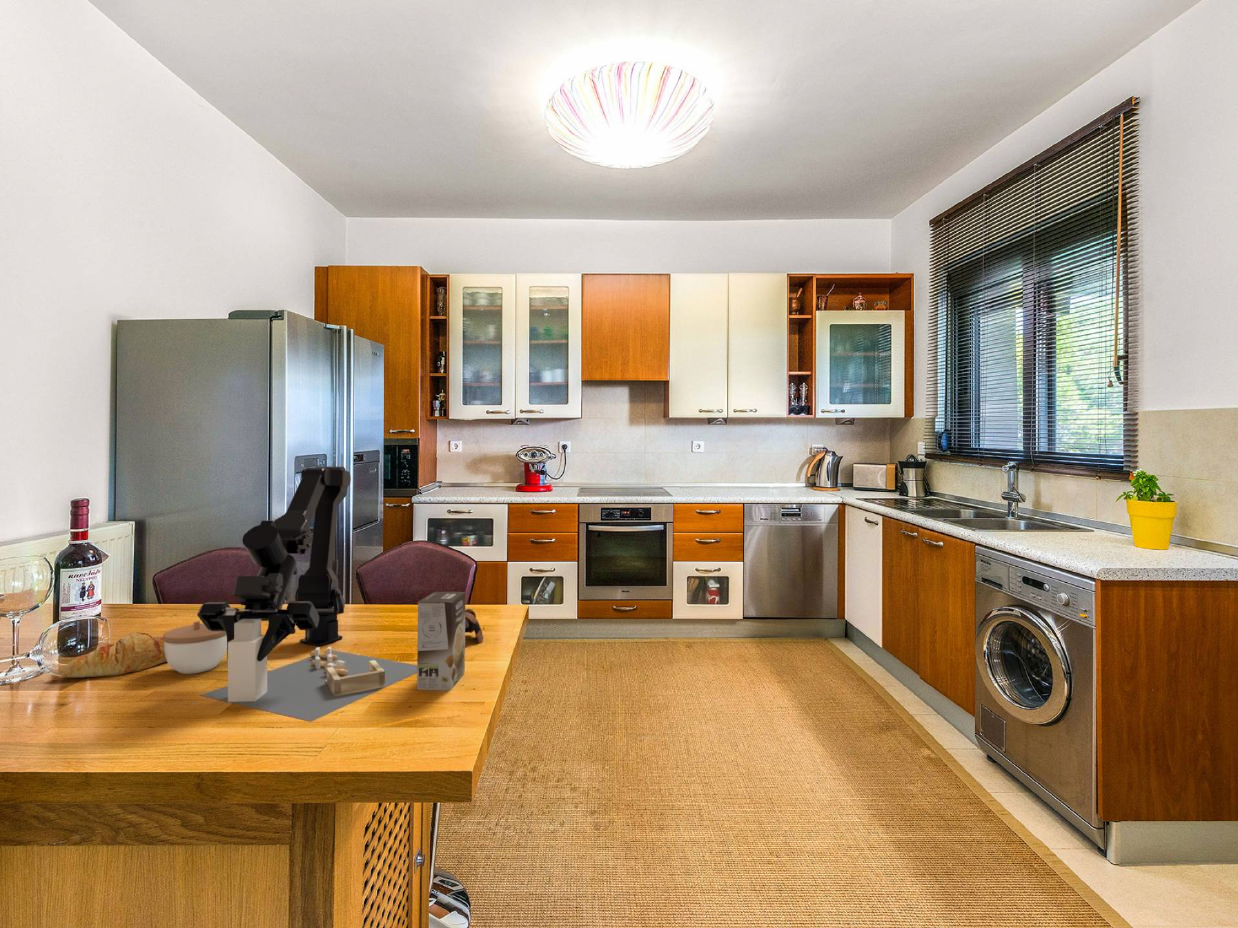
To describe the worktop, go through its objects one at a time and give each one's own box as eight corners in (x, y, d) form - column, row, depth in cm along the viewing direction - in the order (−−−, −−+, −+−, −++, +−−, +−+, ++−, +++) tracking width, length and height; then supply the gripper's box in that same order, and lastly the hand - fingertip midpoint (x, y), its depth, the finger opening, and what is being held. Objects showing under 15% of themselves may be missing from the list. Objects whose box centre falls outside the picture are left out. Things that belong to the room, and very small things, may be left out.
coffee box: (451, 692, 115) (452, 602, 115) (416, 691, 115) (416, 601, 115) (465, 674, 124) (466, 591, 124) (432, 673, 125) (432, 590, 124)
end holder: (325, 681, 119) (325, 666, 119) (373, 673, 123) (373, 658, 123) (334, 696, 112) (334, 680, 112) (385, 686, 116) (385, 671, 116)
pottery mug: (481, 649, 142) (461, 619, 140) (444, 666, 143) (424, 636, 141) (494, 621, 153) (476, 593, 151) (460, 637, 155) (442, 609, 153)
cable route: (305, 656, 133) (305, 646, 133) (332, 652, 136) (332, 642, 136) (319, 680, 119) (319, 669, 119) (348, 675, 122) (348, 664, 122)
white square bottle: (240, 692, 113) (240, 617, 113) (267, 691, 114) (267, 617, 113) (228, 701, 109) (227, 624, 109) (255, 701, 109) (255, 624, 109)
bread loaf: (61, 704, 117) (64, 670, 114) (51, 667, 123) (54, 634, 120) (196, 672, 133) (201, 641, 130) (182, 640, 139) (186, 610, 136)
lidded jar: (207, 658, 133) (207, 612, 132) (241, 666, 128) (241, 618, 128) (150, 674, 123) (150, 624, 123) (184, 683, 118) (184, 632, 118)
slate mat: (199, 697, 112) (199, 695, 112) (330, 651, 137) (330, 649, 137) (310, 723, 101) (310, 721, 101) (429, 669, 127) (429, 666, 127)
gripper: (202, 556, 114) (164, 637, 103) (313, 556, 115) (287, 635, 105) (226, 591, 122) (193, 670, 111) (329, 590, 123) (306, 667, 113)
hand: (244, 660), depth 110 cm, fingers closed on white square bottle, 4 cm apart
